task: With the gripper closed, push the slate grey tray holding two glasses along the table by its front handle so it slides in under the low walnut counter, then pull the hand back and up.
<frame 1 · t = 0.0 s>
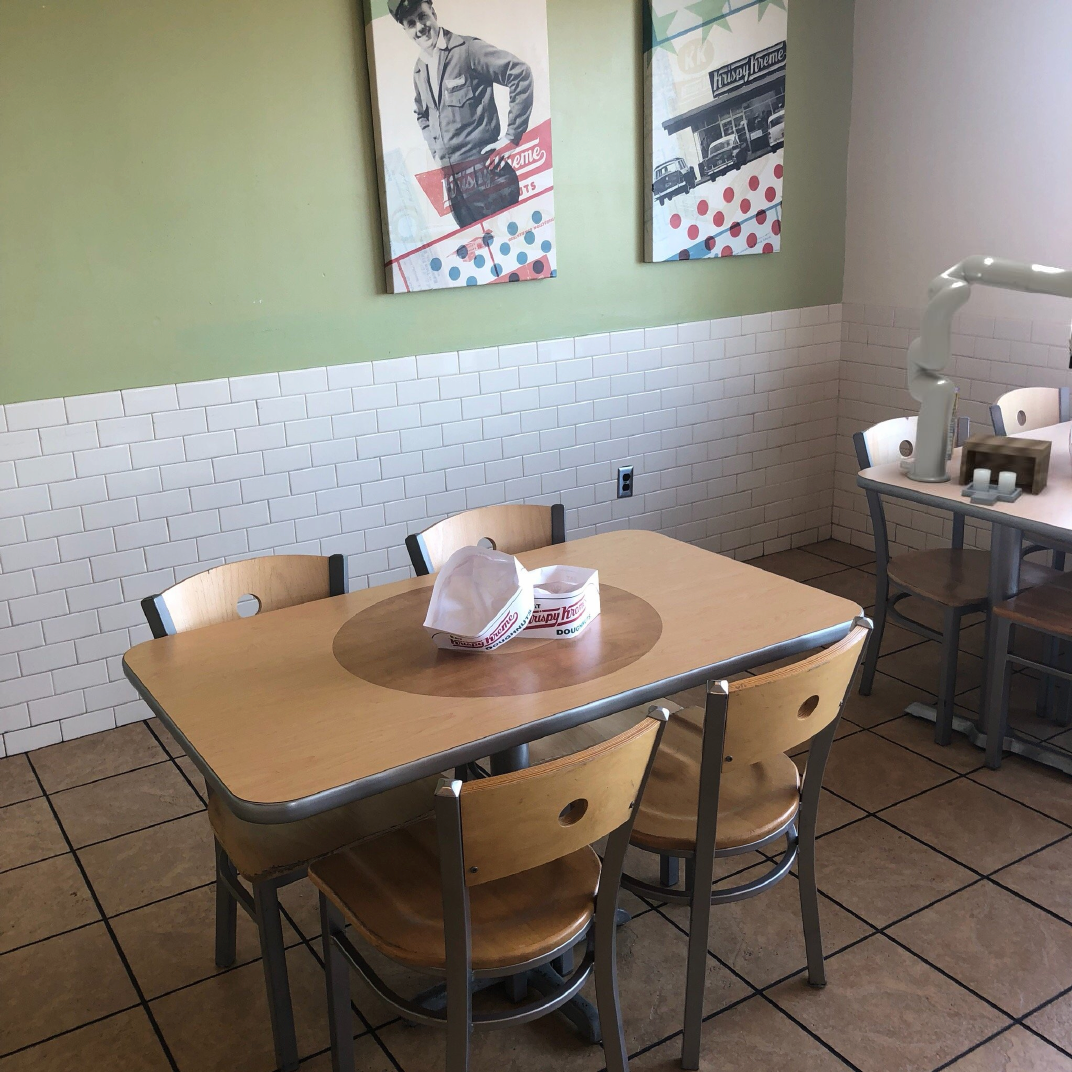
glasses tray: (991, 495, 307), on the table
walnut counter: (1002, 485, 316), on the table
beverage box: (941, 456, 352), on the table
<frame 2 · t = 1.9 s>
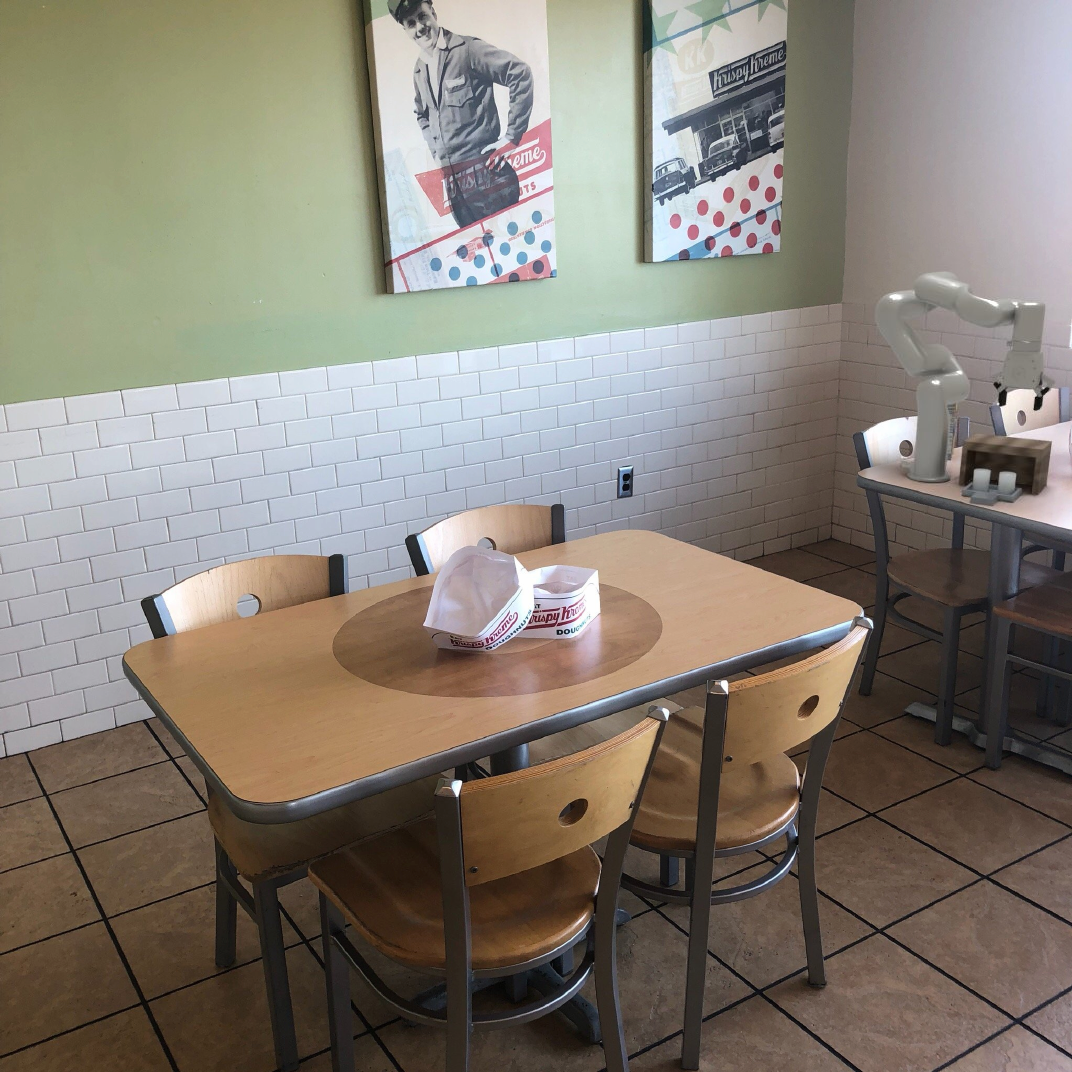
hand: (1019, 407, 297), 26 cm above the table, tool pointing down, fingers open, 9 cm apart
nothing on the table moved.
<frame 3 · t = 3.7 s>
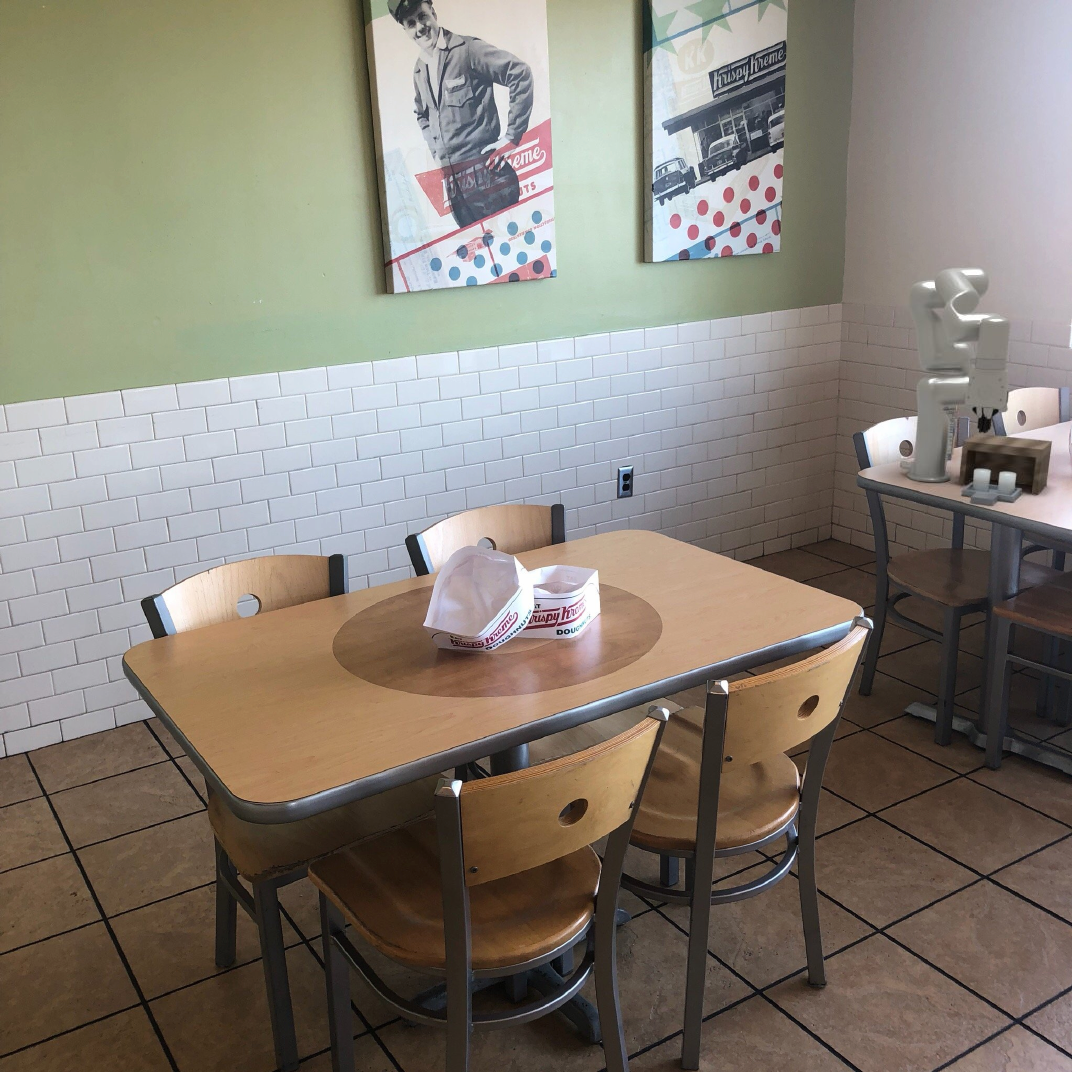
hand: (983, 431, 287), 22 cm above the table, tool pointing down, fingers closed
nothing on the table moved.
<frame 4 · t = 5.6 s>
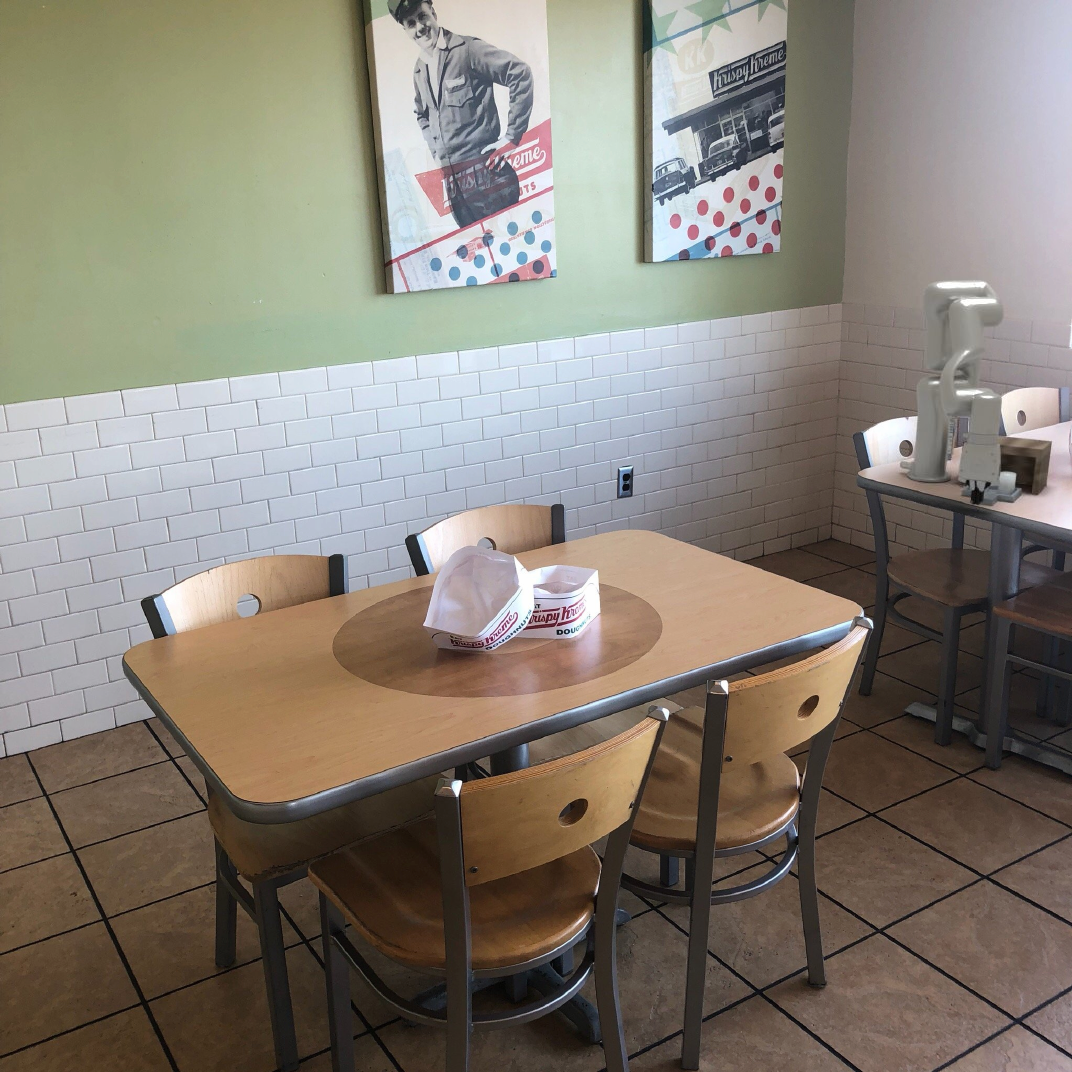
hand: (976, 503, 293), 2 cm above the table, tool pointing down, fingers closed
nothing on the table moved.
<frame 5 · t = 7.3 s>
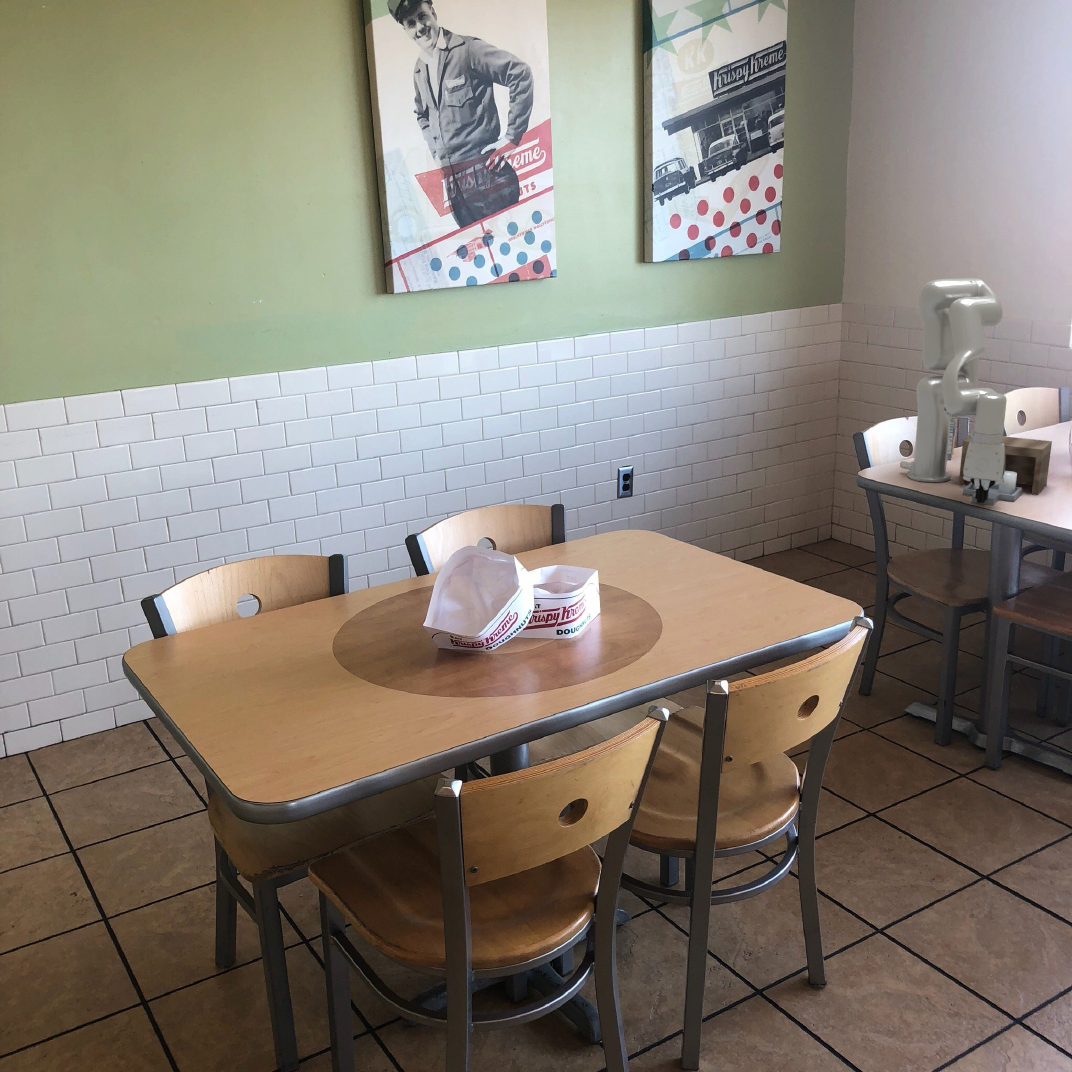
hand: (981, 501, 297), 1 cm above the table, tool pointing down, fingers closed
glasses tray: (992, 494, 307), on the table, touching gripper
everything else where it was.
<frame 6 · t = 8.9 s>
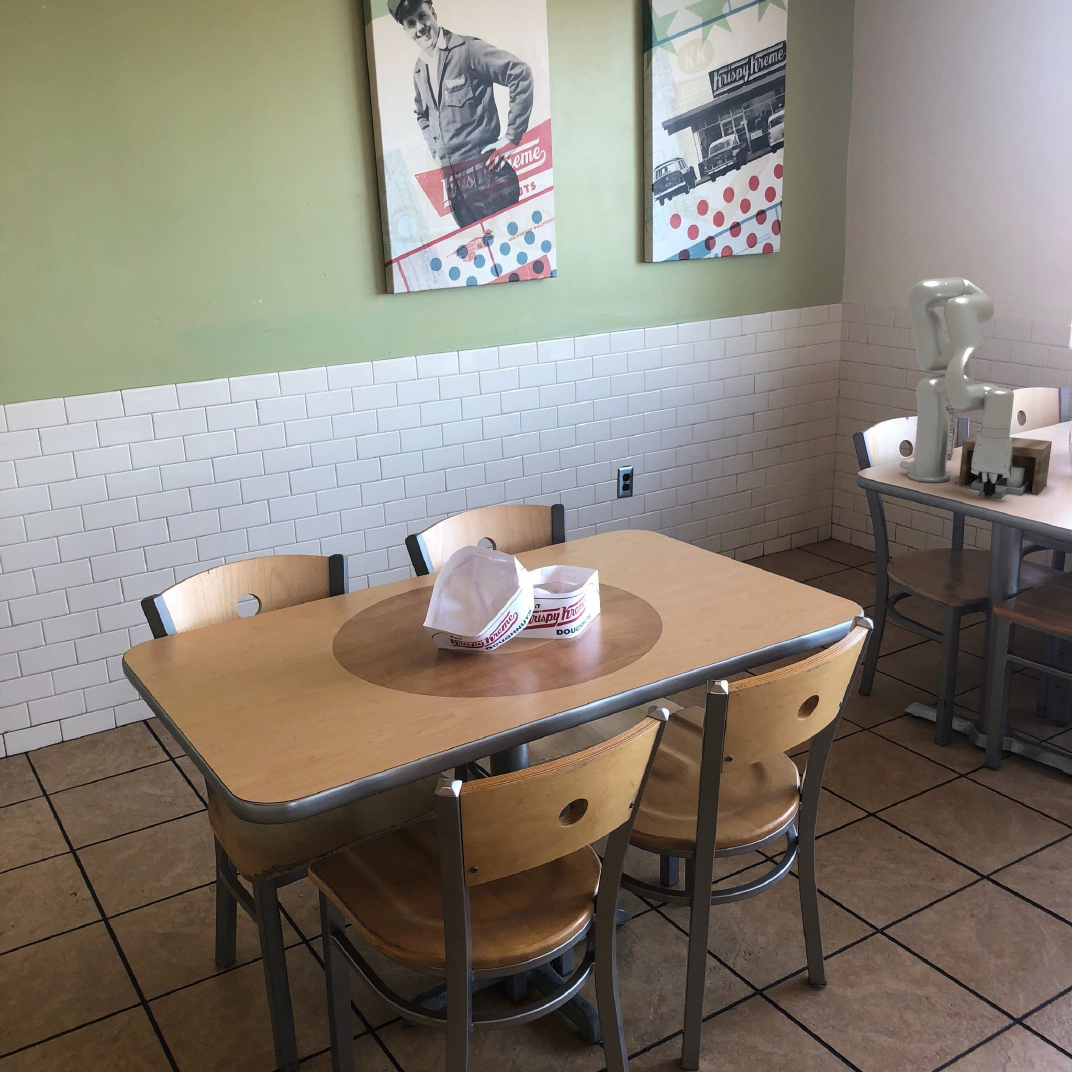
hand: (988, 494, 303), 1 cm above the table, tool pointing down, fingers closed
glasses tray: (1000, 488, 313), on the table, touching gripper
everything else where it was.
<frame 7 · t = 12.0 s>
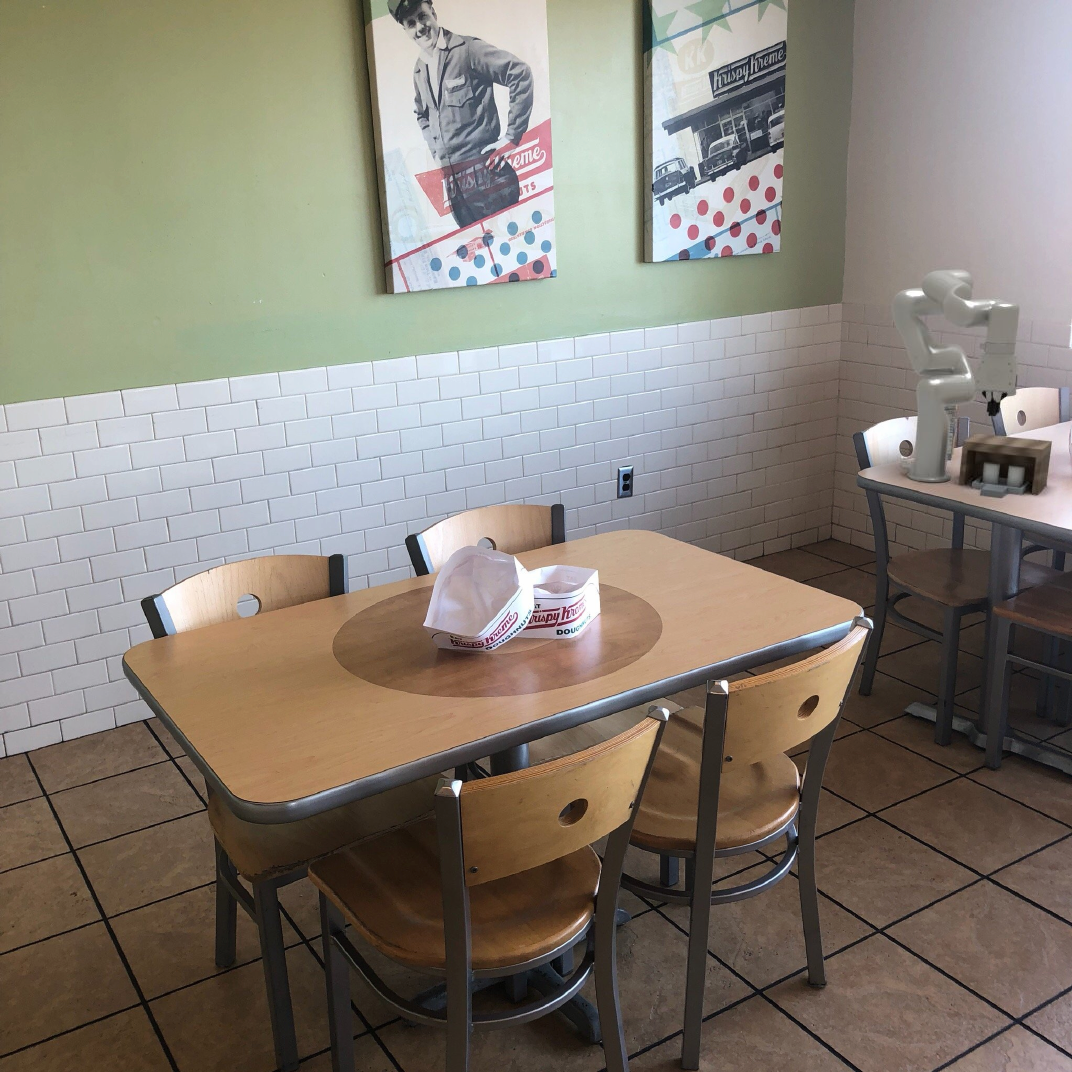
hand: (992, 415, 293), 25 cm above the table, tool pointing down, fingers closed
glasses tray: (1000, 487, 314), on the table
everything else where it was.
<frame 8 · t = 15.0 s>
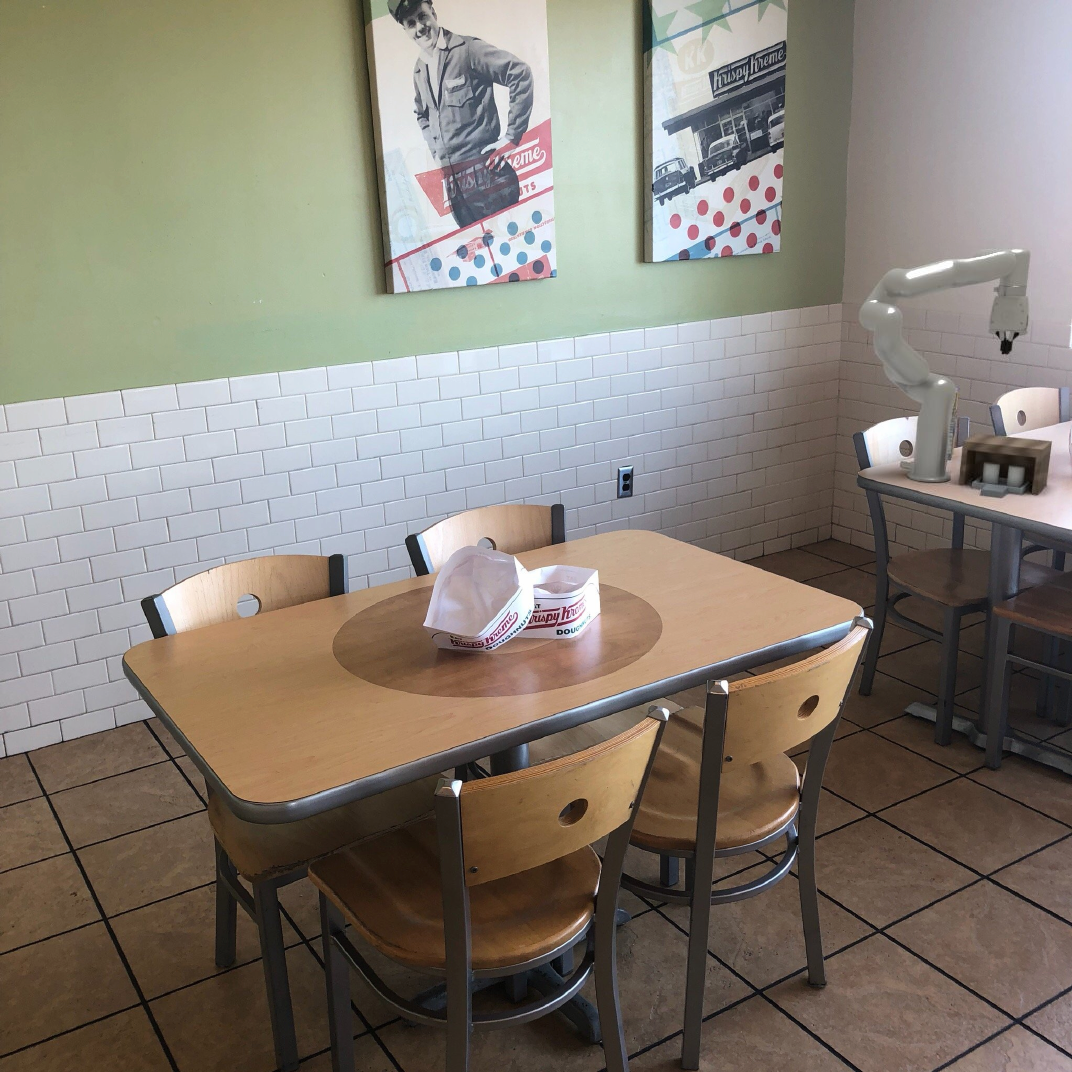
hand: (1005, 353, 318), 37 cm above the table, tool pointing down, fingers closed
nothing on the table moved.
at the end: glasses tray inside the target area on the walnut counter (2.8 cm from its centre), point 0.0 cm above the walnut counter's base; glasses tray tilted 0°; glasses tray moved 9.5 cm from its start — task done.
